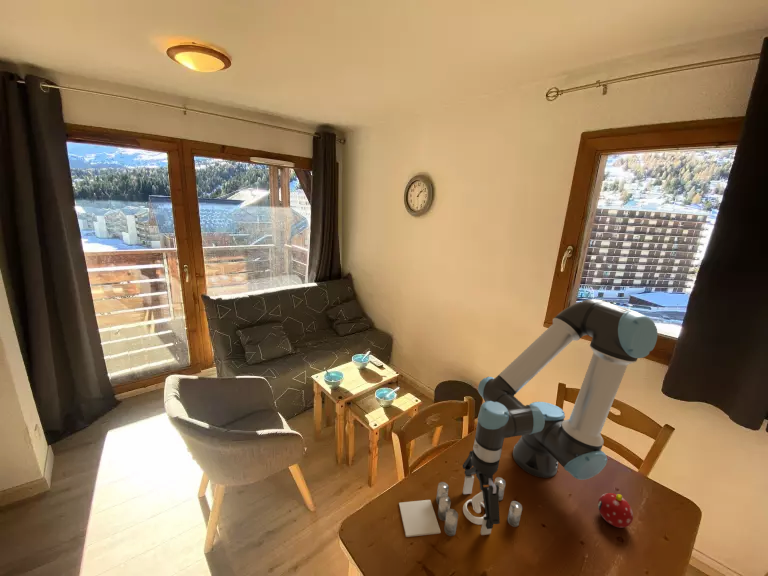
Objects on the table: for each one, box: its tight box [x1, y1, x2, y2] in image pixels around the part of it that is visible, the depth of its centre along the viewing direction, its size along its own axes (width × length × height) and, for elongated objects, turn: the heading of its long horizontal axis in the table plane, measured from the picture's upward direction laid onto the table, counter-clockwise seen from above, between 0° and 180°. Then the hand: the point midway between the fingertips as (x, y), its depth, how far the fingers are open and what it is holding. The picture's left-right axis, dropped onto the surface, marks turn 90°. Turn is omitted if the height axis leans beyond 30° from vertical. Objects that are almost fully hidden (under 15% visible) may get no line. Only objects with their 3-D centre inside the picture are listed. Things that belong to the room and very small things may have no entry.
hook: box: [462, 491, 486, 526], centre depth 95 cm, size 8×12×7 cm
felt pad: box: [398, 499, 441, 538], centre depth 94 cm, size 10×10×1 cm
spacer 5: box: [506, 500, 523, 528], centre depth 94 cm, size 3×3×6 cm
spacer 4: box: [493, 476, 507, 502], centre depth 102 cm, size 3×3×6 cm
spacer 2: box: [437, 495, 452, 522], centre depth 94 cm, size 3×3×6 cm
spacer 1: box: [435, 481, 449, 506], centre depth 99 cm, size 3×3×6 cm
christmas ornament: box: [597, 492, 634, 529], centre depth 95 cm, size 9×9×10 cm
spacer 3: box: [444, 508, 459, 537], centre depth 90 cm, size 3×3×6 cm
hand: (475, 511), depth 97 cm, fingers open, 12 cm apart
